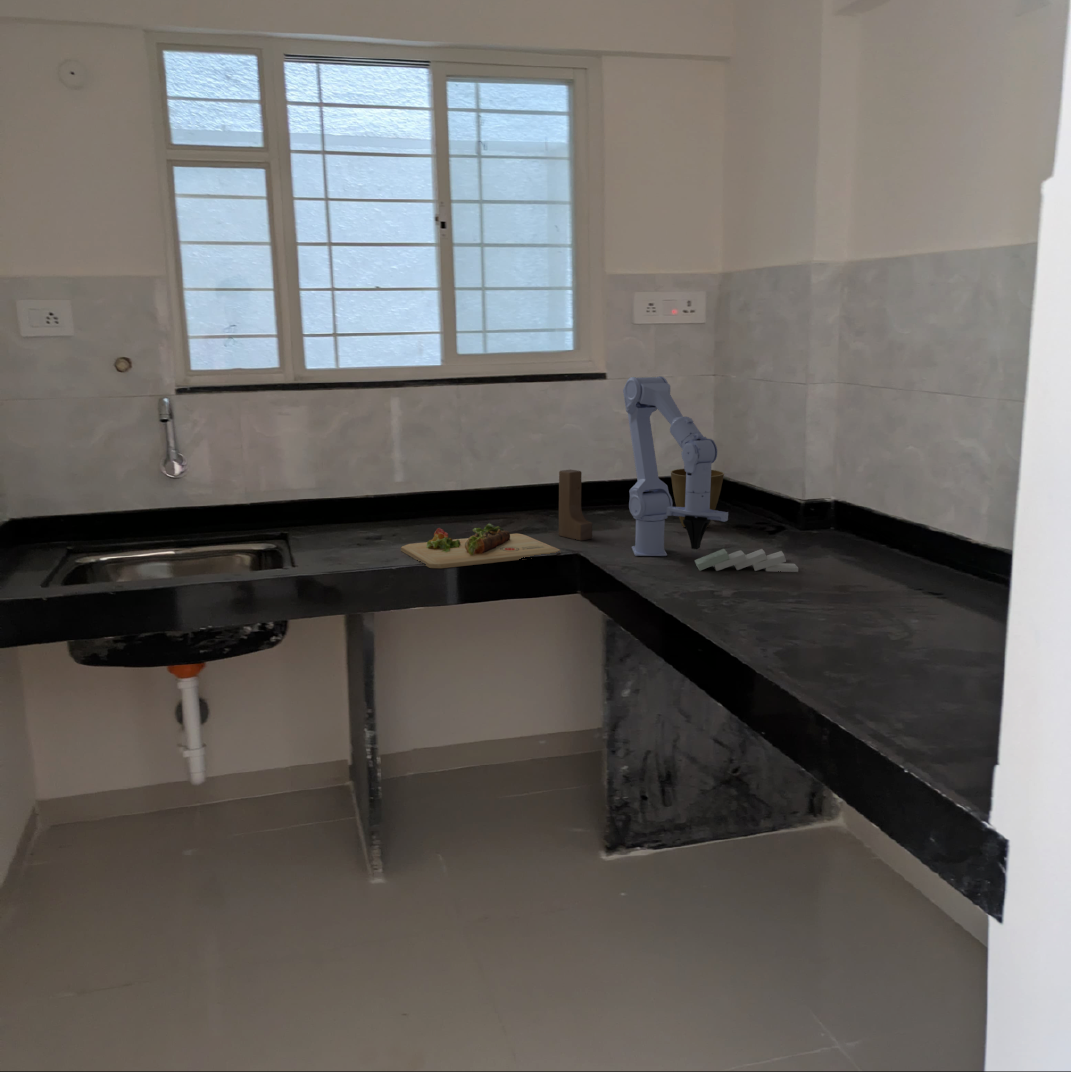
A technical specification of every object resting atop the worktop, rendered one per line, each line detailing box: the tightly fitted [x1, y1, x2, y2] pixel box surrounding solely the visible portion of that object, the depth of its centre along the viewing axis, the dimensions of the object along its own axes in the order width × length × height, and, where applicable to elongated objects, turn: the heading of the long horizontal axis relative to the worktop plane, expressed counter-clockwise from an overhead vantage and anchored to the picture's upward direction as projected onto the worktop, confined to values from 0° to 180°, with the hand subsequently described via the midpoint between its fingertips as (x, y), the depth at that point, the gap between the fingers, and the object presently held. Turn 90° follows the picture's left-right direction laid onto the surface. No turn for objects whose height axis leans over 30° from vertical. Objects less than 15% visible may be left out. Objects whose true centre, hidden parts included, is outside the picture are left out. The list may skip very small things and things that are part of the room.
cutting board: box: [400, 523, 561, 569], centre depth 248 cm, size 35×23×8 cm
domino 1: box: [694, 548, 730, 572], centre depth 232 cm, size 4×2×8 cm
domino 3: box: [733, 548, 767, 571], centre depth 233 cm, size 4×2×8 cm
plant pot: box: [670, 468, 725, 528], centre depth 280 cm, size 15×15×16 cm
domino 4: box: [752, 550, 787, 572], centre depth 232 cm, size 4×2×8 cm
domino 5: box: [763, 562, 799, 573], centre depth 233 cm, size 4×2×8 cm
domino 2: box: [712, 549, 747, 572], centre depth 233 cm, size 4×2×8 cm
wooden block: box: [558, 469, 593, 542], centre depth 265 cm, size 9×4×18 cm, turn 41°
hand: (695, 548), depth 232 cm, fingers closed
